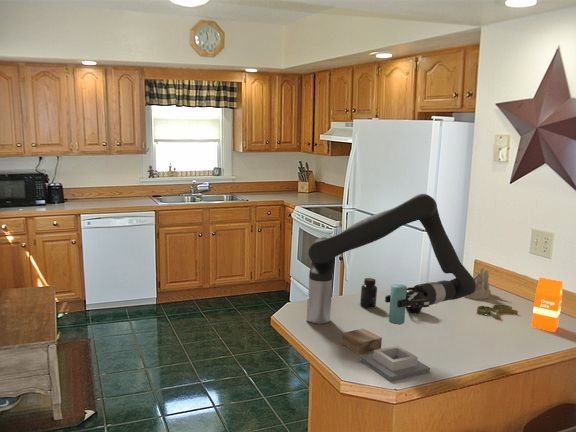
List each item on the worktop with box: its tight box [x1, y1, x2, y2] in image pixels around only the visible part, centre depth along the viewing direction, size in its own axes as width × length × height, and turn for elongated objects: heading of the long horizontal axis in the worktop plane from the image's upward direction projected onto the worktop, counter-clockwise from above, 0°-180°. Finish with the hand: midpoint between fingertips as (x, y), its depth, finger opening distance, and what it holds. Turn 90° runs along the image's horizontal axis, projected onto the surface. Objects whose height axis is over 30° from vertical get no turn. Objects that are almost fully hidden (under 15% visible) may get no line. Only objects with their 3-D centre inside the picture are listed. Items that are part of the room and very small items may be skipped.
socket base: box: [359, 345, 431, 382], centre depth 181 cm, size 16×16×4 cm
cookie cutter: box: [476, 303, 519, 320], centre depth 239 cm, size 18×12×2 cm, turn 122°
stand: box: [340, 328, 383, 355], centre depth 197 cm, size 10×10×4 cm
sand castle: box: [464, 267, 492, 300], centre depth 263 cm, size 16×16×15 cm
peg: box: [388, 283, 408, 325], centre depth 180 cm, size 5×5×12 cm
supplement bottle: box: [359, 277, 378, 309], centre depth 239 cm, size 7×7×12 cm
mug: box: [405, 287, 423, 315], centre depth 233 cm, size 8×12×10 cm
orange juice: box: [530, 277, 564, 333], centre depth 222 cm, size 8×9×20 cm
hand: (392, 301), depth 178 cm, fingers closed on peg, 5 cm apart
